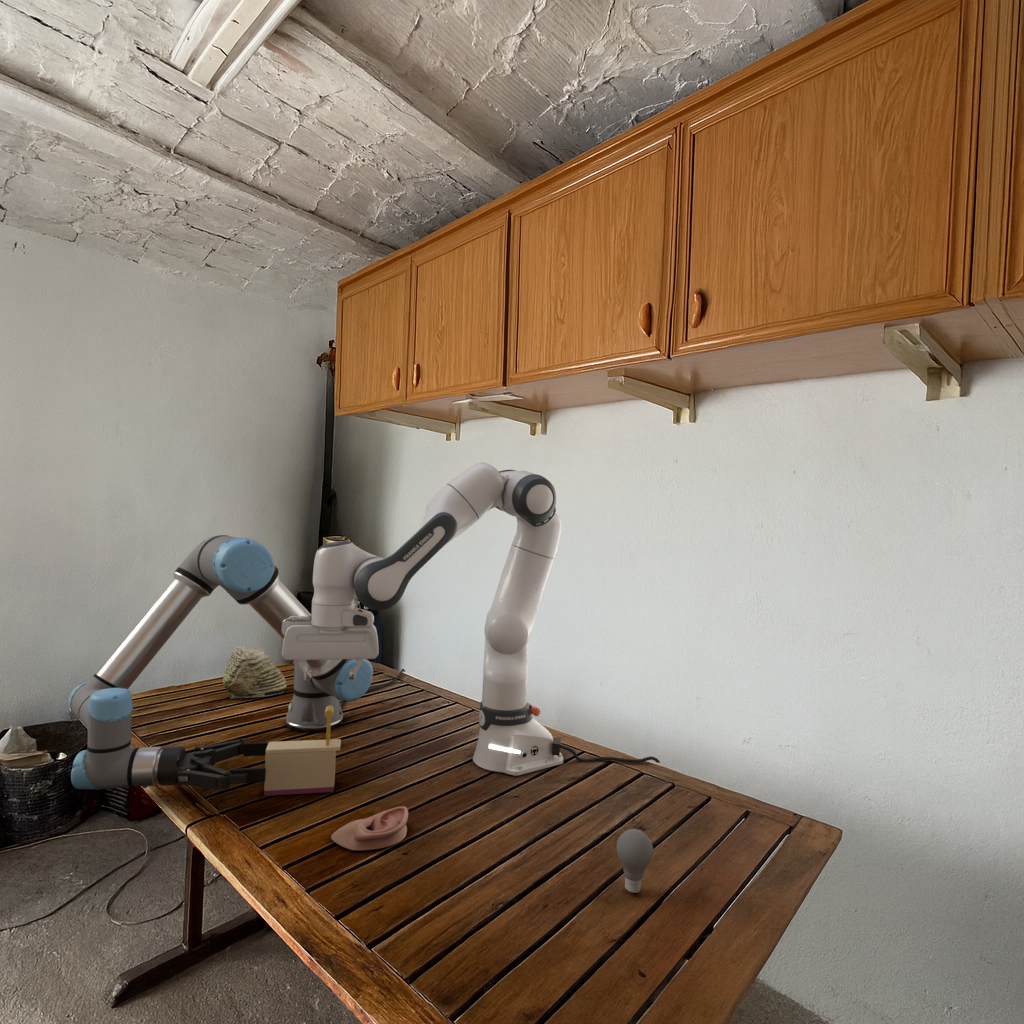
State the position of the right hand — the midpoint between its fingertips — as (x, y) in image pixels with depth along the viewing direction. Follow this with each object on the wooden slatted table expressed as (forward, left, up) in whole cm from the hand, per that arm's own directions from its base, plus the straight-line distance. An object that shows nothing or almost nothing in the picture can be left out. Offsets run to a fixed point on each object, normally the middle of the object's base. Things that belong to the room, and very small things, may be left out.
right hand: (330, 679), depth 138 cm
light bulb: (-42, +55, -24) cm, 73 cm away
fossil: (+12, -71, -24) cm, 76 cm away
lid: (+5, -1, -15) cm, 16 cm away
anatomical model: (-5, +23, -24) cm, 33 cm away
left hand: (+11, -2, -17) cm, 21 cm away
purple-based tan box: (+5, -1, -24) cm, 24 cm away
